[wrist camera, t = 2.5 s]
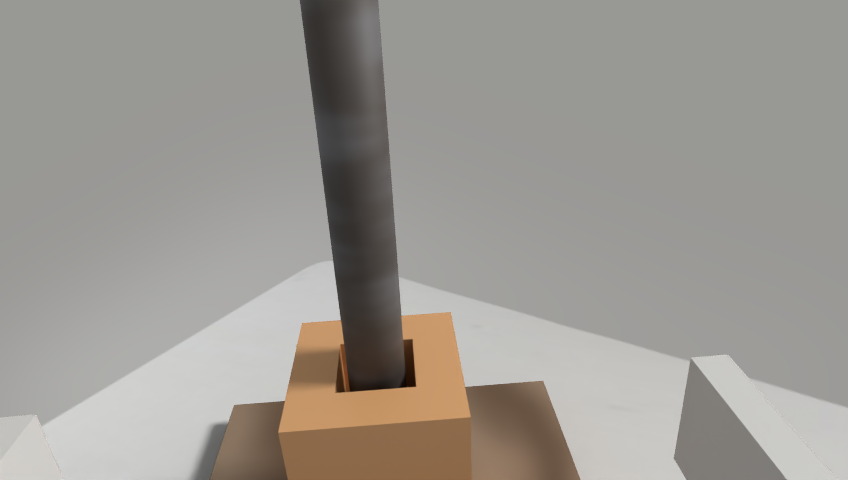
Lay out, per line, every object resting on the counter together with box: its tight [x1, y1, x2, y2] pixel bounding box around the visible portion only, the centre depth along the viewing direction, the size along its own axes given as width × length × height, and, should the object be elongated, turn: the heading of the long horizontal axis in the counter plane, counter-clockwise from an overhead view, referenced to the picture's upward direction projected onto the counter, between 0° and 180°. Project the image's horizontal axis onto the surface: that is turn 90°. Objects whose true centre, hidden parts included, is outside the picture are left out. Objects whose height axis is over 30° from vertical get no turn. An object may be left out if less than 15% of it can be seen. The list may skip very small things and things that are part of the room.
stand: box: [210, 0, 580, 480], centre depth 22 cm, size 20×20×35 cm
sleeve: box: [278, 312, 472, 480], centre depth 27 cm, size 7×7×10 cm
